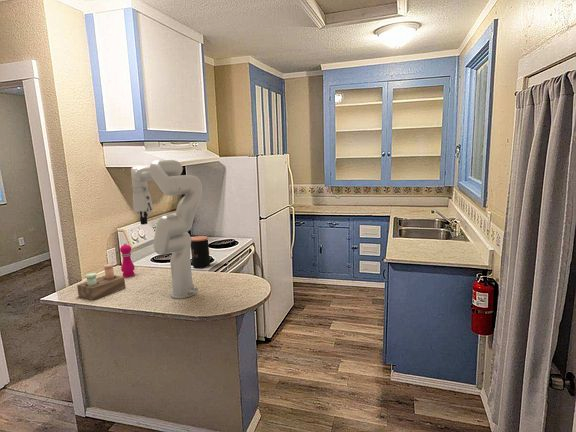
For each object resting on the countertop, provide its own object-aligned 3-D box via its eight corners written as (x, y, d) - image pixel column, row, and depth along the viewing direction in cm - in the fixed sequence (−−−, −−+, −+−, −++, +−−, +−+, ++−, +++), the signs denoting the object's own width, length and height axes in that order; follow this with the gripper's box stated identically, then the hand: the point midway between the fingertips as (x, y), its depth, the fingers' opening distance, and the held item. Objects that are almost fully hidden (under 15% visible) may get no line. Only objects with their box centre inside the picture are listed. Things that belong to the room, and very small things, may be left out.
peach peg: (117, 283, 194) (115, 263, 192) (109, 286, 190) (107, 266, 188) (111, 282, 196) (109, 263, 194) (103, 284, 192) (101, 265, 190)
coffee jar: (191, 265, 230) (188, 237, 227) (208, 262, 235) (205, 235, 232) (194, 269, 221) (191, 240, 218) (211, 267, 225) (209, 238, 222)
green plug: (100, 293, 186) (98, 273, 184) (92, 296, 181) (89, 276, 180) (94, 292, 188) (92, 272, 186) (86, 295, 184) (83, 275, 182)
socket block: (125, 287, 194) (124, 276, 193) (93, 300, 178) (92, 288, 177) (110, 284, 200) (109, 274, 199) (78, 296, 184) (77, 285, 183)
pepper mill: (119, 276, 213) (115, 243, 210) (129, 273, 219) (125, 240, 216) (127, 278, 210) (123, 244, 207) (138, 274, 216) (134, 241, 213)
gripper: (156, 189, 195) (159, 223, 198) (136, 189, 202) (140, 222, 205) (144, 191, 189) (148, 226, 192) (125, 190, 196) (128, 224, 198)
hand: (144, 224), depth 198 cm, fingers closed
